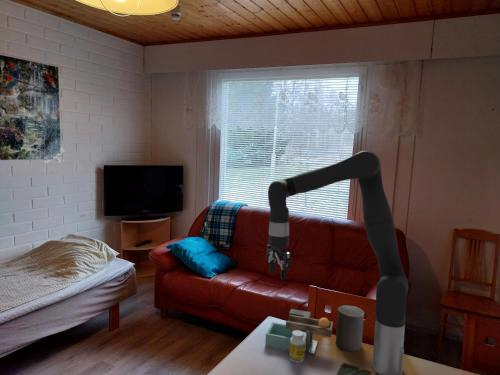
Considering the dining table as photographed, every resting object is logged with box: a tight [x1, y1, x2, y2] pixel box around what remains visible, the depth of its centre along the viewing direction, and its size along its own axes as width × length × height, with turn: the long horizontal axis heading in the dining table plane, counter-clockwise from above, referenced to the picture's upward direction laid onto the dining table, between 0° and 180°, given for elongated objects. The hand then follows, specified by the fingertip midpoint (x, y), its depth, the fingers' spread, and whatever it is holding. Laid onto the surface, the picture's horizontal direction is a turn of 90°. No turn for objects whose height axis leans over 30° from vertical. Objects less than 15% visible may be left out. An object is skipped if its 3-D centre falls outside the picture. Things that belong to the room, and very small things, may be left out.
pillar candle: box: [334, 304, 365, 352], centre depth 139 cm, size 10×10×15 cm
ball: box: [318, 317, 330, 328], centre depth 134 cm, size 4×4×4 cm
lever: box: [285, 308, 334, 338], centre depth 140 cm, size 18×15×3 cm
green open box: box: [264, 322, 294, 353], centre depth 139 cm, size 10×10×5 cm
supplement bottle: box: [288, 330, 306, 364], centre depth 129 cm, size 5×5×10 cm
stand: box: [304, 329, 318, 357], centre depth 136 cm, size 5×9×9 cm, turn 162°
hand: (277, 275), depth 138 cm, fingers open, 8 cm apart
